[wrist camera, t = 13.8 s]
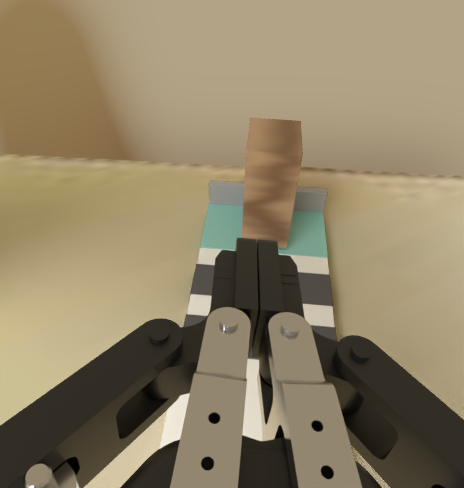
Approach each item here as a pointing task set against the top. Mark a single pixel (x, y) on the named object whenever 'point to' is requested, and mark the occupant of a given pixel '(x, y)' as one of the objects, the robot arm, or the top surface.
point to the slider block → (271, 179)
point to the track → (298, 247)
